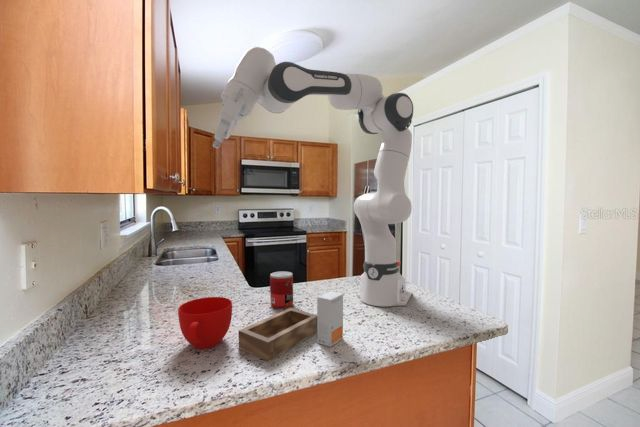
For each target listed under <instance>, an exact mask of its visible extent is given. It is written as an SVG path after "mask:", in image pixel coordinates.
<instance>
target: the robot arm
mask: <svg viewBox="0 0 640 427" xmlns="http://www.w3.org/2000/svg"><path fill="white" fill-rule="evenodd" d="M234 69H235V70H234V73H233V76H232V77H231V78H230V79H229V80H228V82H227V84H226V85H225V87H224V89H223V91H222V93H221V95H220V98H221V101H222V108H221V111H220V113H219V117H218V123H217V128H216V131H215V134H214V136H213V138H214V141H213V143H212V147H213V148H215V149H219V148H220V147H221V144H222V143H223V141H225V140H229V137H230V136H231V135H232V134H233V132H234V131H235V129H236V128H237V126H238V125H239V123H240V122H241V121H243V120H244V119H245V118H246V117H247V116H248V115H251V113H252V111H253V110H254V108H255V106H256V104H257V103H258V104H259V105H260V106H262V107H263V108H264V109H265V110H266V111H268V112H270V113H273V114H282V113H283V112H285V111H286V110H288V109H289V108H290V107H291V106H293V105H294V104H295V103H296V102H298V101H299V100H301V99H303V98H304V97H306V96H327V100H328V102H329V103H330V105H331V106H332V107H333V108H334V109H336V110H342V111H349V110H351V111H352V110H357V115H358V123H359V126H360V129H361V130H362V132H364V133H366V134H369V135H377V134H380V133H381V144H380V147H379V151H378V154H377V157H376V161H375V165H374V169H373V175H374V177H375V179H376V182H377V189H376V192H366V193H364V194H362V195H359V196H358V197H356V198H355V200H354V202H353V212H354V214H355V216H356V217H357V218H358V220H359V223H360V226H361V230H362V235H363V239H364V261H363V273H362V274H361V275H360V284H359V285H360V288H359V292H357V293H356V296H357V297H358V298H359V299H360V301H361V302H363V303H364V304H367V305H370V306H373V307H375V306H376V307H394V306H407V305H408V303H409V300H410V298H411V296H413V293H412V292H413V291H412V290H409V289H407V288H406V287H407V286H406V278H404V276H403V275H402V274H401V273H400V272H399V271H400V270H399V267H401V261H400V260H397V239H396V238H395V237H394V235H393V234H392V232H391V231H390V228H389V225H396V224H399V223H403V222H405V221H407V220H408V219H409V218H410V216H411V214H412V208H413V206H412V202H411V200H410V198H409V196H408V195H407V193H406V188H405V179H406V173H407V169H408V165H409V161H410V156H411V151H412V143H413V141H412V140H413V134H412V132H411V130H410V129H409V128H410V126H411V124H412V119H413V116H414V103H413V101H412V98H411V97H410V96H409V95H408V94H406V93H404V92H397V93H396V92H394V93H392V94H390V95H388V96H384V95H383V94H384V93H383V85H382V83H381V81H380V79H378V78H377V77H375V76H372V75H368V74H362V73H344V72H337V71H328V70H327V71H326V70H319V69H309V68H306V67H304V66H301V65H299V64H297V63H295V62H292V61H282V62H280V63H276V61H275V57H274V55H273V53H271V51H269V50H267V49H266V48H264V47H261V46H252V47H250V48H248V49H246V51H245V53H244V54H243V55H242V57H241V58H240V60H239V62H238V63H237V65H236V67H235V68H234Z"/></svg>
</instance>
